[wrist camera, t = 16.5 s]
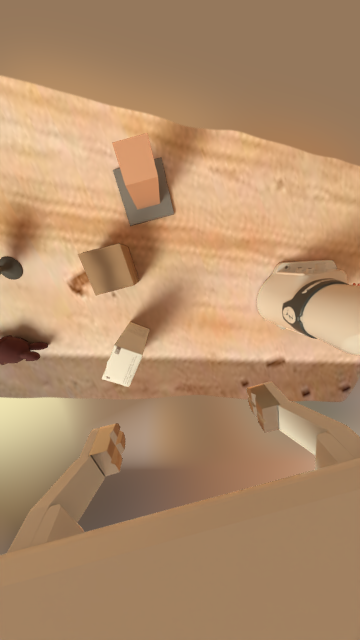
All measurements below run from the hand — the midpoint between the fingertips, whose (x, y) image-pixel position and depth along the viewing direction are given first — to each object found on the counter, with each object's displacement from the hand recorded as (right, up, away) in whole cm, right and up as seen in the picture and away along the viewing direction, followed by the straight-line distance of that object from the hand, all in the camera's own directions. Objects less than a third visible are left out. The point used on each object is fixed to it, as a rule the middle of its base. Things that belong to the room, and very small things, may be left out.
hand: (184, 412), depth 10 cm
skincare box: (-13, +1, +36) cm, 38 cm away
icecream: (-43, -1, +34) cm, 54 cm away
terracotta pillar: (-8, +32, +25) cm, 41 cm away
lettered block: (-15, +18, +30) cm, 38 cm away
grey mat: (-8, +33, +25) cm, 42 cm away
